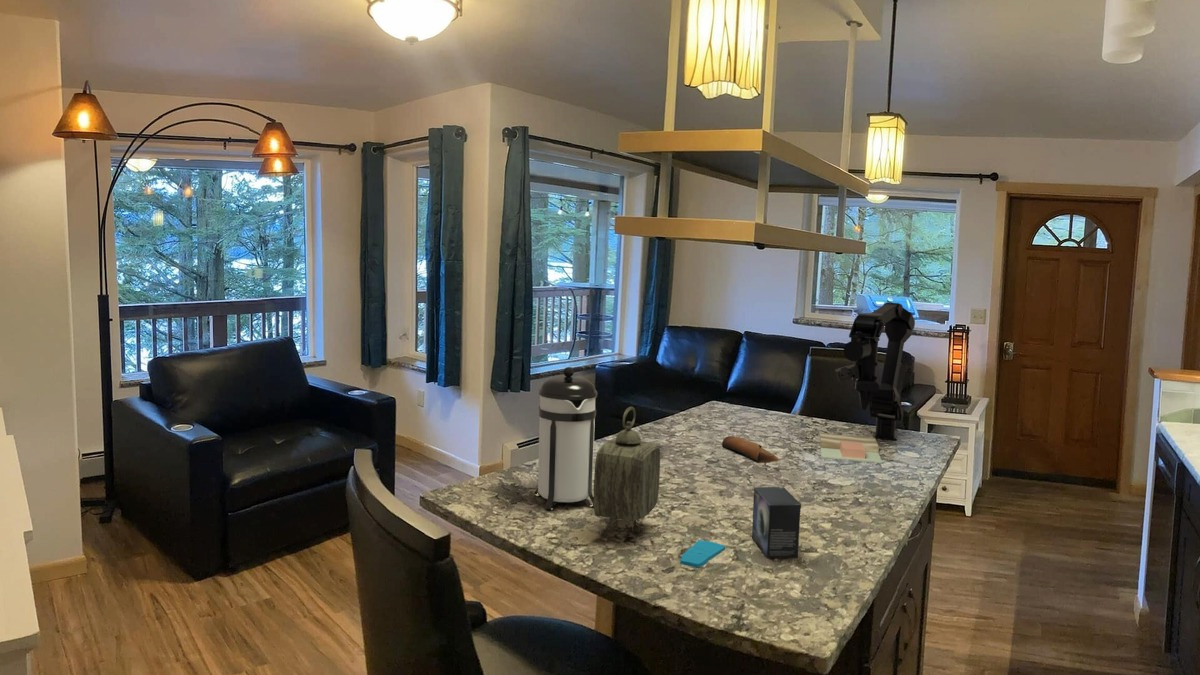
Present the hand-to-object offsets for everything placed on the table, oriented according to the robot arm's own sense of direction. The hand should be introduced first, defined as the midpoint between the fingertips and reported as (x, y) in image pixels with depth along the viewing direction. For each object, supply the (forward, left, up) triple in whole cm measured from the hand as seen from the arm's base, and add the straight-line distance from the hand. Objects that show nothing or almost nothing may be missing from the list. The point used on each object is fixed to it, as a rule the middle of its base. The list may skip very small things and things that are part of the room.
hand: (863, 409), depth 227 cm
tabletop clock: (+91, -51, -12) cm, 105 cm away
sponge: (+98, -35, -12) cm, 105 cm away
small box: (+90, -22, -12) cm, 93 cm away
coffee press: (+77, -69, -12) cm, 104 cm away
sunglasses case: (+20, -31, -12) cm, 38 cm away
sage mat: (+11, -4, -12) cm, 16 cm away
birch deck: (0, -4, -12) cm, 12 cm away
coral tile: (+10, -3, -11) cm, 16 cm away
